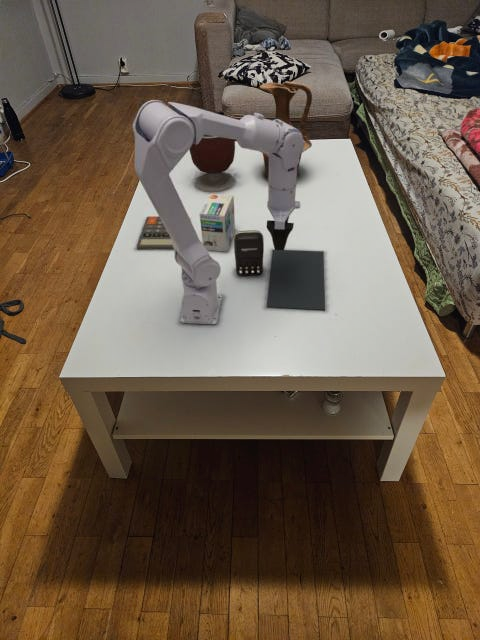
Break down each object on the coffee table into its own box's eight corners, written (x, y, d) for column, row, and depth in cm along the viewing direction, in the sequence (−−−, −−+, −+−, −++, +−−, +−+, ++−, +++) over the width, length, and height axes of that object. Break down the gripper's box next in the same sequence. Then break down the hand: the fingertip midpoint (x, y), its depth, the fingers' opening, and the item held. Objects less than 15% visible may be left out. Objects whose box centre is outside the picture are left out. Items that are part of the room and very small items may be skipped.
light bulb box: (227, 252, 118) (225, 216, 111) (202, 250, 119) (198, 214, 112) (235, 230, 126) (234, 194, 118) (212, 228, 127) (209, 192, 119)
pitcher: (310, 164, 153) (317, 73, 134) (308, 189, 141) (315, 92, 121) (258, 162, 155) (257, 72, 136) (251, 186, 143) (250, 91, 124)
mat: (325, 310, 101) (325, 309, 101) (266, 307, 103) (266, 306, 102) (323, 252, 117) (323, 251, 117) (272, 250, 118) (272, 249, 118)
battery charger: (235, 279, 110) (233, 239, 102) (235, 269, 113) (233, 230, 105) (264, 278, 110) (264, 238, 102) (263, 268, 113) (263, 228, 105)
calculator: (187, 215, 130) (180, 246, 119) (187, 218, 131) (180, 249, 120) (147, 215, 131) (136, 246, 120) (147, 218, 131) (136, 249, 120)
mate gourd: (238, 173, 150) (236, 110, 136) (233, 193, 140) (230, 128, 126) (192, 172, 152) (185, 109, 138) (184, 192, 142) (176, 127, 128)
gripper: (301, 202, 89) (297, 259, 98) (302, 168, 99) (298, 222, 108) (264, 201, 89) (264, 257, 99) (269, 167, 100) (269, 221, 109)
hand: (280, 239), depth 104 cm, fingers open, 7 cm apart
